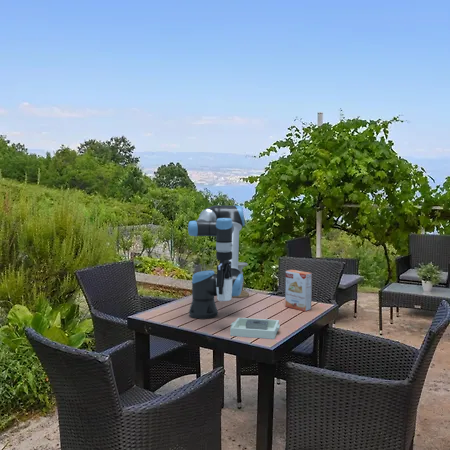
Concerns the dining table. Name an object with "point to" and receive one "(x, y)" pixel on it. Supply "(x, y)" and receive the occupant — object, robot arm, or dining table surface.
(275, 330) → the tray
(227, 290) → the white cup
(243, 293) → the candle holder
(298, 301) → the cracker box
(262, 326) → the block
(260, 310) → the dining table surface
